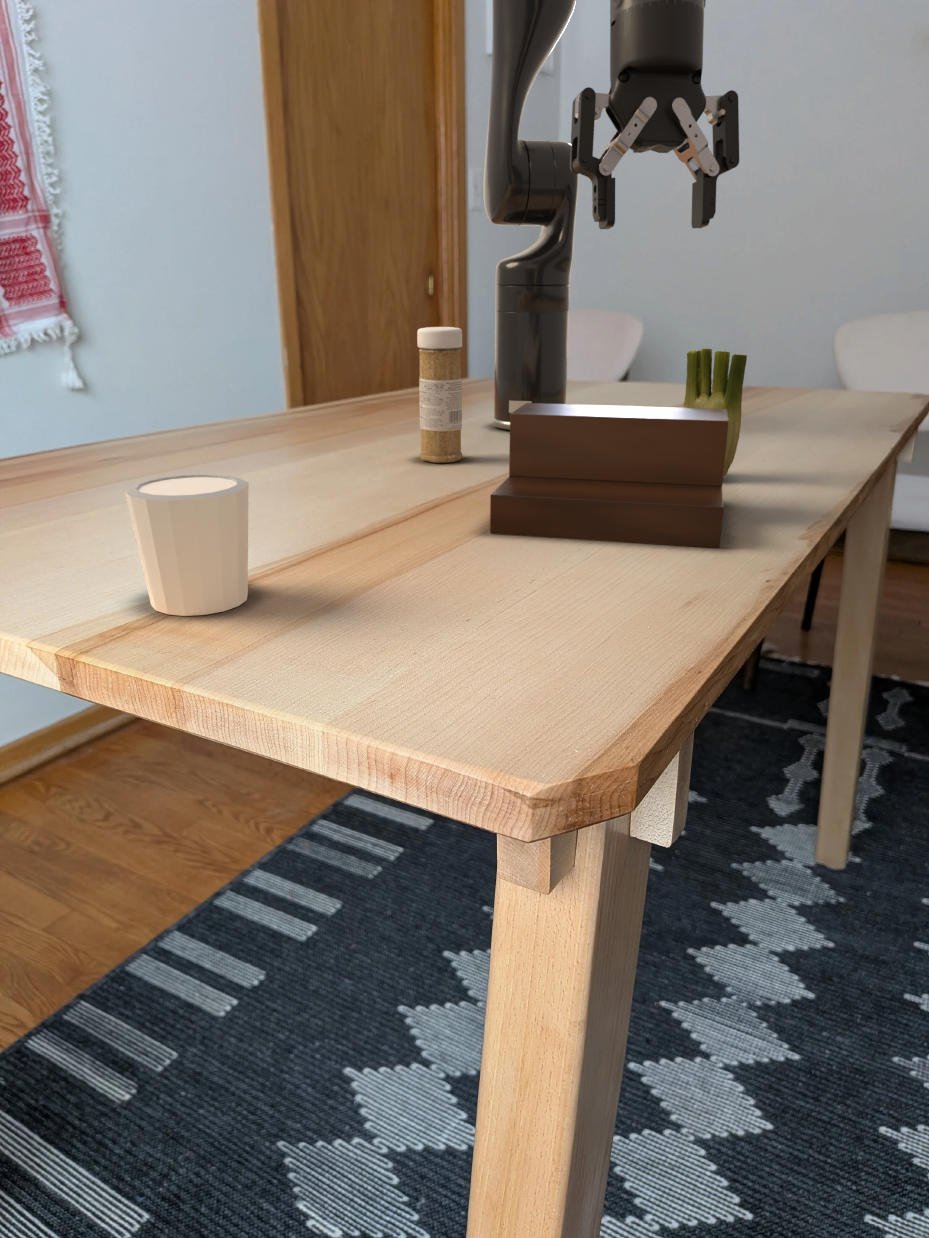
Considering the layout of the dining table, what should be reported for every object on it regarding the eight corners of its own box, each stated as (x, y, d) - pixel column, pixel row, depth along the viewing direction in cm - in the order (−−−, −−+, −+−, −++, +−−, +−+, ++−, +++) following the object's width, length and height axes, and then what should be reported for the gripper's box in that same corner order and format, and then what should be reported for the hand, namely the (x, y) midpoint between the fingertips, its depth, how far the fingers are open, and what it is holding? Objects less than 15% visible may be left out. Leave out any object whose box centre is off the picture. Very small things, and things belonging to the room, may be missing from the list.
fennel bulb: (741, 481, 86) (755, 350, 82) (697, 485, 85) (709, 351, 81) (705, 470, 91) (717, 346, 87) (663, 474, 90) (673, 347, 86)
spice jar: (444, 454, 100) (443, 326, 95) (471, 460, 97) (471, 327, 92) (411, 459, 97) (408, 327, 93) (437, 465, 94) (435, 329, 89)
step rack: (524, 494, 82) (526, 402, 79) (717, 504, 78) (726, 409, 75) (489, 533, 69) (490, 426, 66) (719, 548, 65) (730, 435, 62)
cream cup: (163, 581, 58) (149, 472, 56) (270, 582, 58) (261, 473, 55) (121, 619, 52) (104, 497, 49) (242, 620, 51) (230, 498, 49)
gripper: (717, 35, 79) (711, 234, 83) (559, 29, 77) (561, 235, 81) (760, -1, 72) (751, 219, 76) (588, -9, 70) (588, 219, 74)
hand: (653, 227), depth 78 cm, fingers open, 8 cm apart
